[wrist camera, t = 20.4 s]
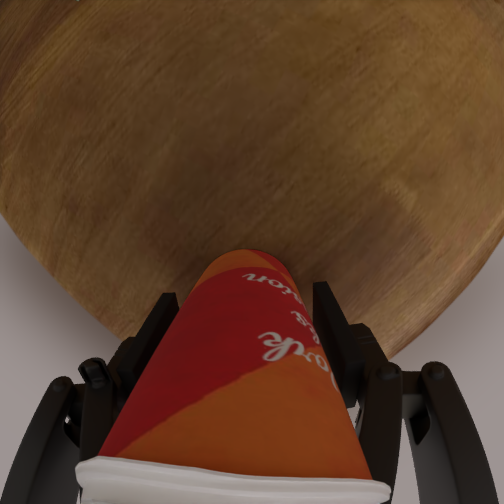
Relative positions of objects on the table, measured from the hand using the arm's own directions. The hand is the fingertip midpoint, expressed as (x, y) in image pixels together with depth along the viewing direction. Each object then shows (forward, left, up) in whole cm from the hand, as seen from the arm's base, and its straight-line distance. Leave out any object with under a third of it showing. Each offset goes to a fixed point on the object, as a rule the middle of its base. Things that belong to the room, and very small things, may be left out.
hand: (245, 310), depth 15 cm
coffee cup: (0, 0, -2) cm, 2 cm away
